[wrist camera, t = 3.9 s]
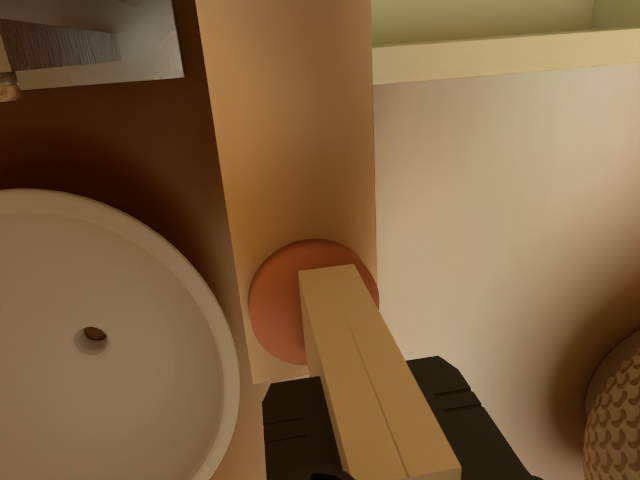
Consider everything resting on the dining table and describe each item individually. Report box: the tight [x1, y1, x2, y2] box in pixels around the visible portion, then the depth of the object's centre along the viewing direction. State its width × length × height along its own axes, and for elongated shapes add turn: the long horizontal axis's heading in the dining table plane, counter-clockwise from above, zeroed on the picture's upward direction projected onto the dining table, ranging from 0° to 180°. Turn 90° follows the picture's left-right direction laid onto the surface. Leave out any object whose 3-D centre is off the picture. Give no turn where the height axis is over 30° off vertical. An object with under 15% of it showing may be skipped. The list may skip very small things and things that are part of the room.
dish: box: [0, 188, 240, 480], centre depth 22 cm, size 18×14×5 cm
